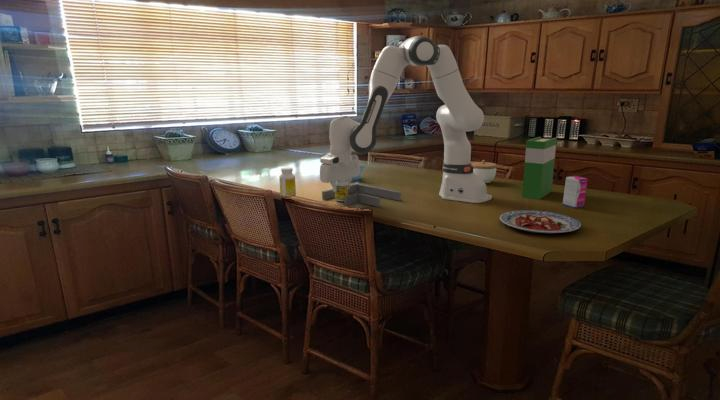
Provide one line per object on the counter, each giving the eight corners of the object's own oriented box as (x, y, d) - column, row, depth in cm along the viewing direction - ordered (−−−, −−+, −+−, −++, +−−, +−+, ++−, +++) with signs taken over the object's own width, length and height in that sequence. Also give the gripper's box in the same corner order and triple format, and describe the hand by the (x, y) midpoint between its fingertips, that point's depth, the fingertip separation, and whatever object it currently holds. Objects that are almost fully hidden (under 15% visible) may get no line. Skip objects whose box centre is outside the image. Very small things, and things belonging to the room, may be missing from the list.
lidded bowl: (499, 181, 232) (500, 159, 230) (491, 186, 222) (492, 163, 219) (474, 178, 239) (475, 157, 236) (465, 183, 229) (466, 160, 226)
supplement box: (574, 208, 183) (577, 179, 180) (562, 205, 188) (565, 176, 185) (584, 206, 185) (588, 178, 183) (572, 203, 190) (575, 175, 188)
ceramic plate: (490, 230, 157) (490, 221, 156) (510, 212, 178) (510, 204, 178) (573, 243, 144) (574, 234, 143) (584, 222, 165) (585, 214, 165)
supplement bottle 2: (347, 198, 199) (347, 176, 197) (348, 201, 194) (348, 178, 192) (334, 198, 199) (334, 176, 197) (335, 201, 194) (334, 178, 191)
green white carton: (534, 189, 215) (539, 136, 209) (551, 191, 211) (556, 137, 205) (522, 196, 202) (526, 140, 196) (539, 199, 197) (545, 141, 191)
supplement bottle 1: (299, 197, 203) (298, 167, 200) (290, 200, 197) (289, 170, 194) (285, 195, 206) (284, 166, 203) (277, 199, 200) (275, 169, 197)
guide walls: (400, 200, 197) (401, 192, 196) (366, 210, 182) (366, 201, 181) (357, 191, 213) (357, 183, 213) (322, 199, 198) (322, 191, 198)
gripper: (352, 153, 201) (353, 184, 205) (316, 159, 187) (318, 193, 190) (363, 154, 197) (364, 187, 201) (327, 160, 183) (328, 195, 186)
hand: (341, 190), depth 195 cm, fingers closed on supplement bottle 2, 5 cm apart
